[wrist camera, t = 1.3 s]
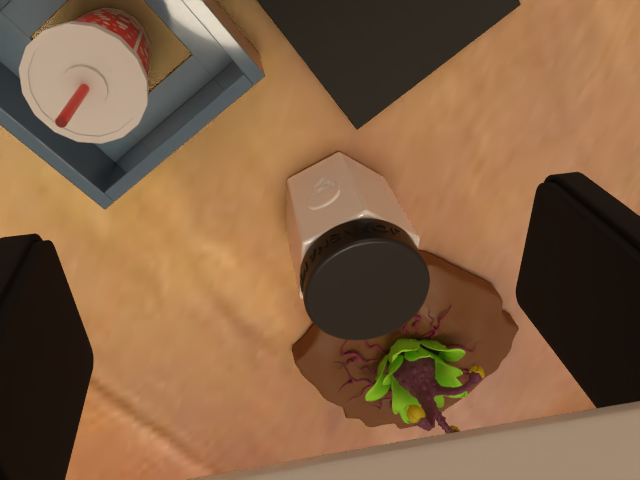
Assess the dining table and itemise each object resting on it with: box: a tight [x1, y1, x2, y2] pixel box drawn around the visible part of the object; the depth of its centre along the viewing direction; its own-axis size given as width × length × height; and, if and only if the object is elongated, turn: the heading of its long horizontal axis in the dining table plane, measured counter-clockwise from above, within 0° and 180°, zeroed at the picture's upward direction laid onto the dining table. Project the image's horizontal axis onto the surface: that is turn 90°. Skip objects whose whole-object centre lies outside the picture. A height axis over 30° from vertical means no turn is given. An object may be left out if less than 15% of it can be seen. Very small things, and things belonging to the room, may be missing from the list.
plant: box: [292, 251, 519, 434], centre depth 48 cm, size 20×20×11 cm
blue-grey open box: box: [0, 0, 265, 209], centre depth 33 cm, size 14×13×5 cm
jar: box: [286, 152, 430, 341], centre depth 38 cm, size 9×8×12 cm
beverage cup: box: [19, 7, 151, 144], centre depth 29 cm, size 6×6×14 cm
